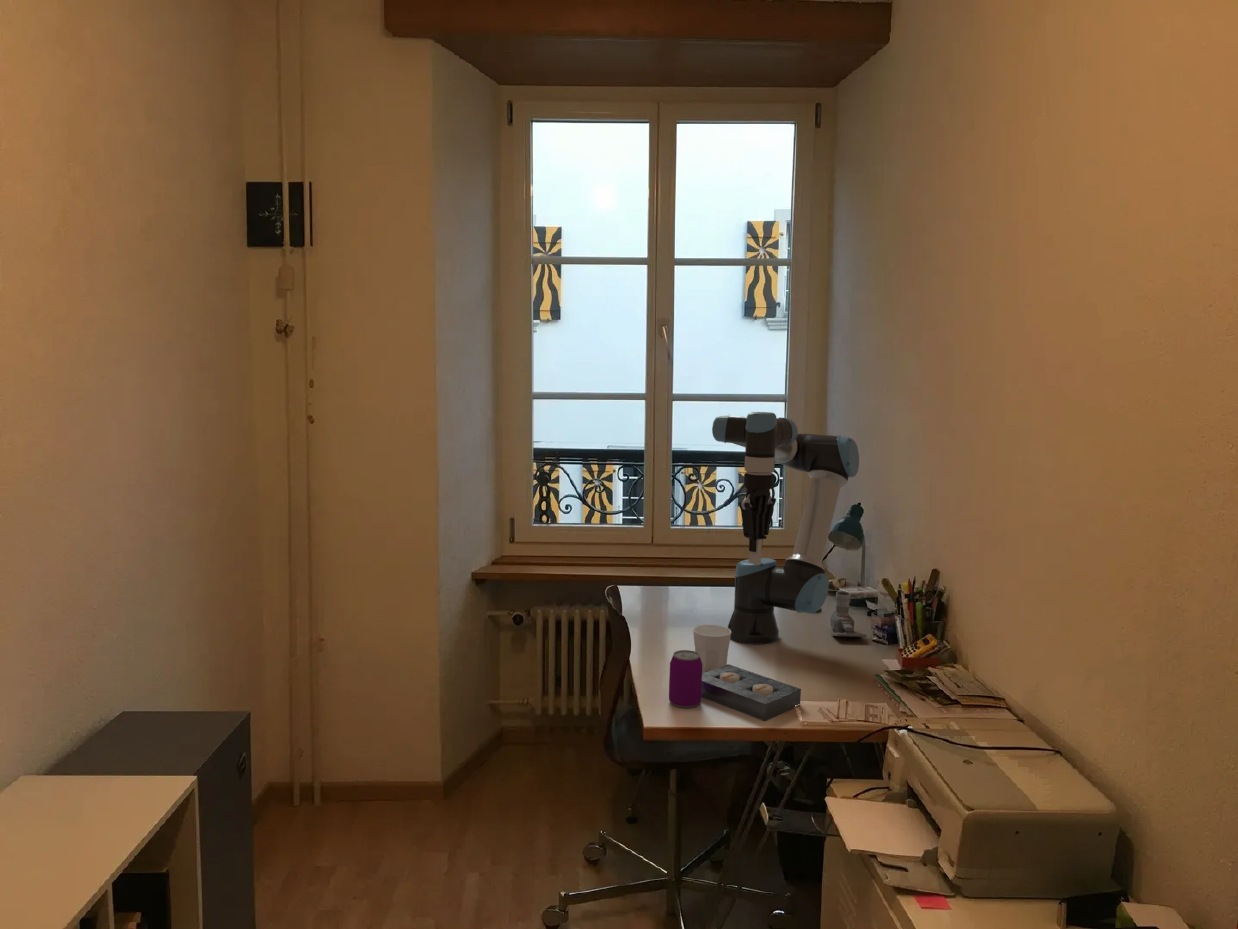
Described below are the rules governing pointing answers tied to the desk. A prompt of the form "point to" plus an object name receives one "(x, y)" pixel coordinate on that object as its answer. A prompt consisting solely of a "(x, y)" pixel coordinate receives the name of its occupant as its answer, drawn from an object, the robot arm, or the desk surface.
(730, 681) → the knob
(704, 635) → the cup
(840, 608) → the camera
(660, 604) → the desk surface
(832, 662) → the desk surface
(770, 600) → the robot arm
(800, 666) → the desk surface
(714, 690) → the mount plate
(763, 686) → the knob
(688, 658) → the beverage can
